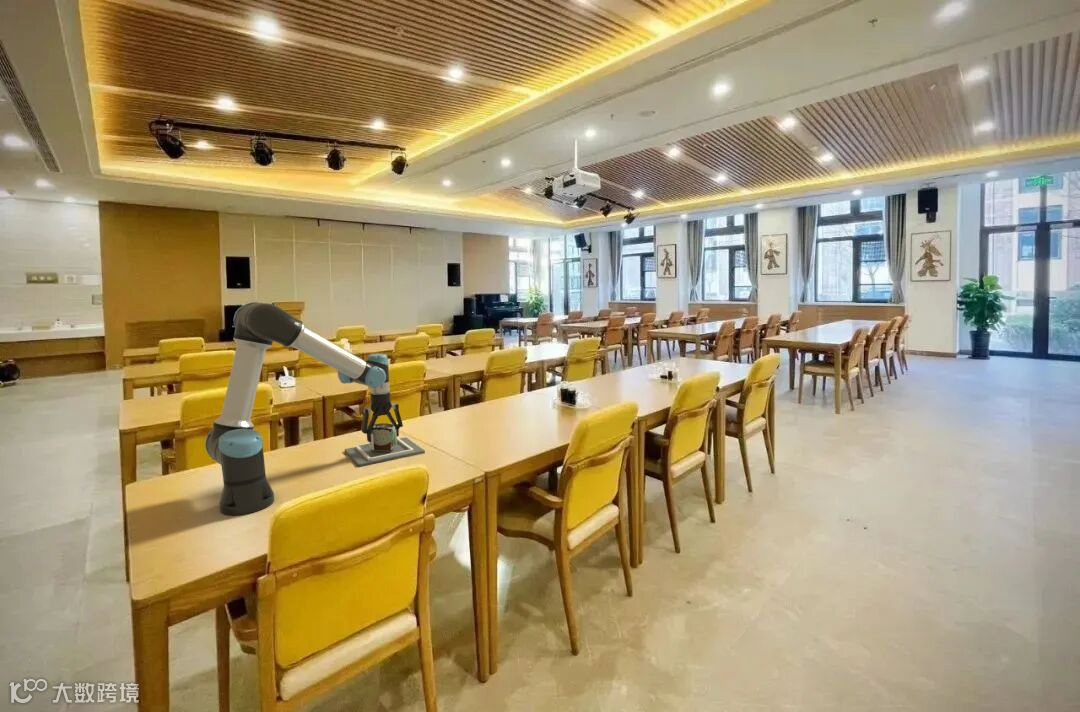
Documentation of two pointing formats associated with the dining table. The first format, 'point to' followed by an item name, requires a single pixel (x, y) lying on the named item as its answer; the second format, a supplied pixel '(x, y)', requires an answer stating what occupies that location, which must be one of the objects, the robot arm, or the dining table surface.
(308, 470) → the dining table surface
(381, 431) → the food container
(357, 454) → the dock board
